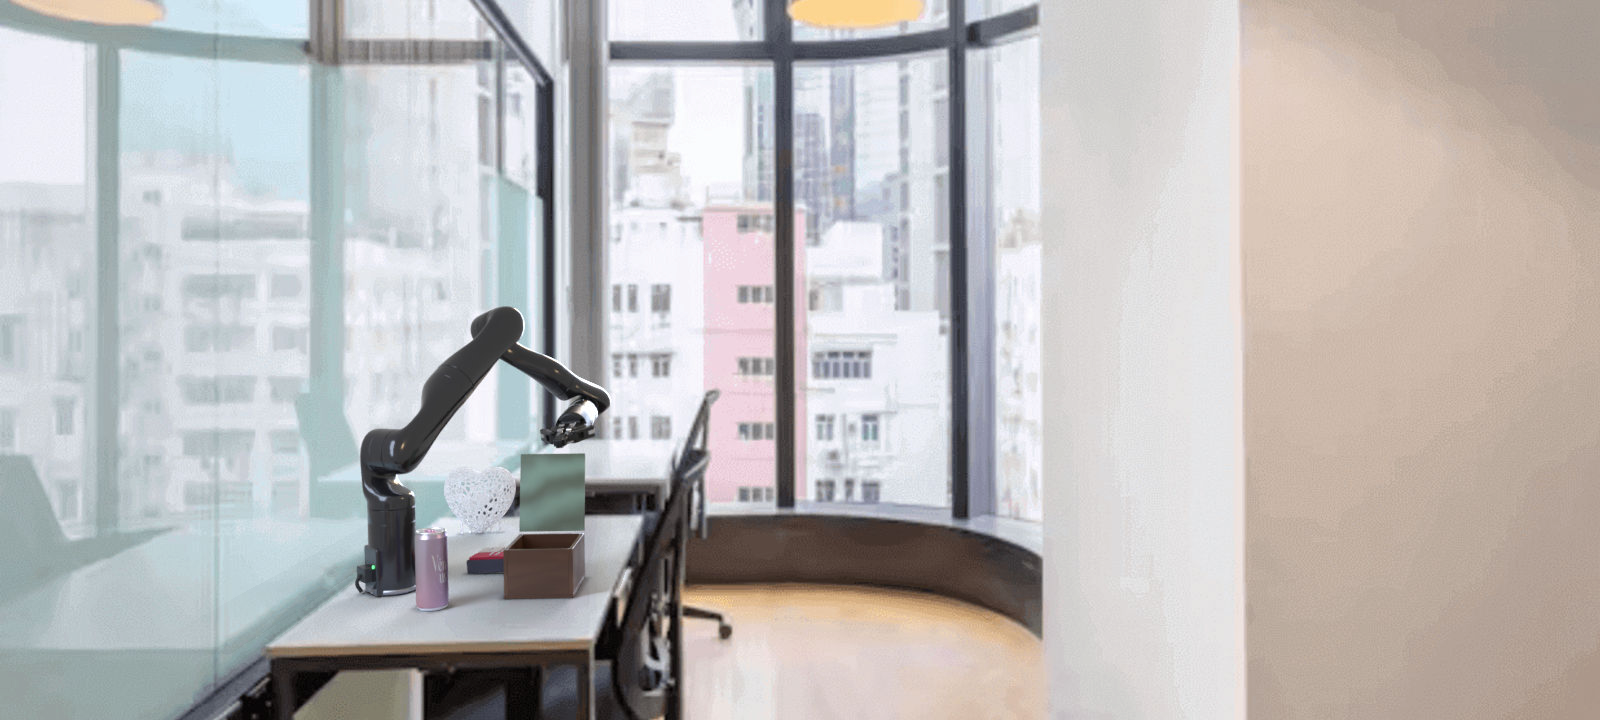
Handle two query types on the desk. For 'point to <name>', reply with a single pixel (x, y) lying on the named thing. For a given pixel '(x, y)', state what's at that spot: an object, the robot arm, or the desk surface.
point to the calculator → (486, 561)
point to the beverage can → (431, 569)
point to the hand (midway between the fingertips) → (558, 443)
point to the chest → (544, 566)
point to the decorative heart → (479, 496)
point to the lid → (552, 492)
